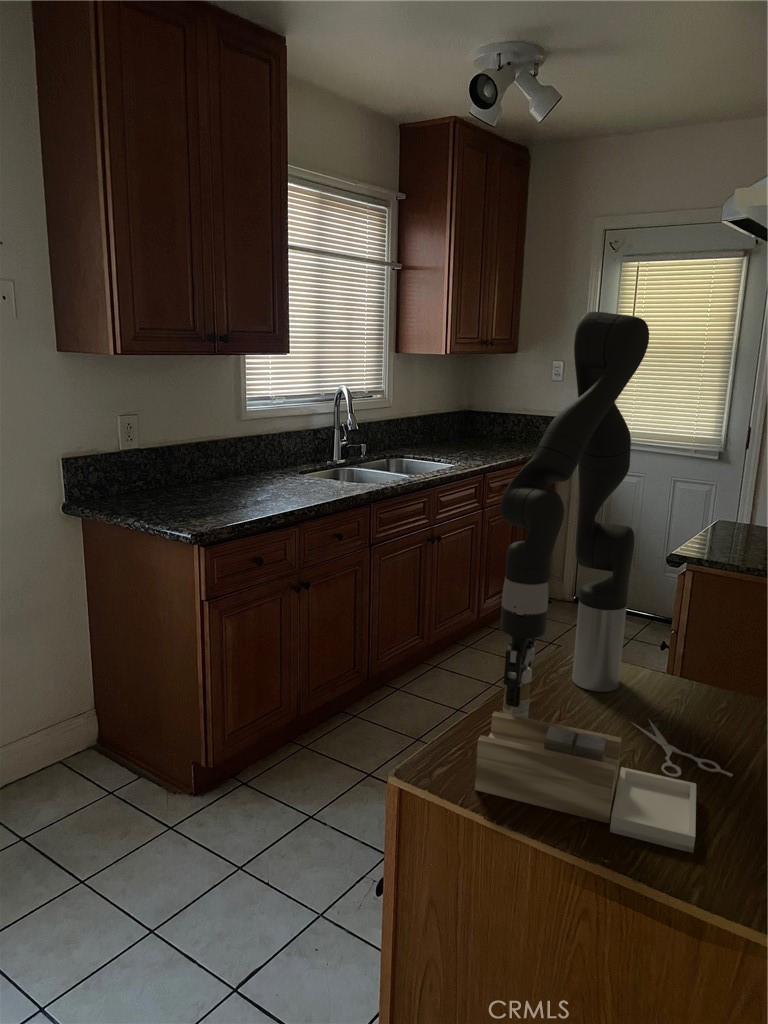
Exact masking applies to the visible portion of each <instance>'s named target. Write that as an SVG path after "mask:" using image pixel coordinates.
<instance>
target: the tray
mask: <svg viewBox="0 0 768 1024" xmlns="http://www.w3.org/2000/svg"><path fill="white" fill-rule="evenodd" d="M696 815H697V783H695V782H691V781H687V780H681V779H678V778H674V777H670V776H664V775H659V774H655V773H649V772H647V771H646V772H645V771H641V770H637V769H632V768H627V767H623V766H621V767H620V772H619V776H618V780H617V787H616V792H615V797H614V802H613V807H612V812H611V817H610V825H609V833H613V834H617V835H620V836H624V837H629V838H632V839H636V840H641V841H644V842H648V843H652V844H656V845H660V846H664V847H668V848H671V849H676V850H679V851H683V852H687V853H690V854H691V853H692V854H694V849H695V842H696V824H697V821H696V819H697V816H696Z"/></svg>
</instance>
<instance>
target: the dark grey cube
mask: <svg viewBox="0 0 768 1024" xmlns="http://www.w3.org/2000/svg"><path fill="white" fill-rule="evenodd" d="M605 748H606V738H604V737H599V736H594V735H590V734H585V733H580V732H579V735H578V738H577V741H576V744H575V755H574V756H577V757H582V758H586V759H591V760H595V761H600V762H604V758H605Z"/></svg>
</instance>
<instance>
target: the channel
mask: <svg viewBox="0 0 768 1024" xmlns="http://www.w3.org/2000/svg"><path fill="white" fill-rule="evenodd" d="M550 726H552V727H556V728H561V729H566V730H571V731H575V732H576V739H575V744H576V741H577V738H578V735H579V732H580V733H585V734H590V735H594V736H599V737H604V738H606V748H605V758H604V762H600V761H595V760H591V759H586V758H582V757H577V756H572V755H568V754H563V753H559V752H554V751H550V750H545V749H544V744H545V737H546V734H547V732H548V729H549V727H550ZM621 747H622V737H619V736H615V735H611V734H605V733H600V732H595V731H591V730H587V729H581V728H576V727H572V726H567V725H562V724H557V723H553V722H552V723H551V722H548V721H543V720H538V719H534V718H529V717H528V718H524V717H519V716H515V715H510V714H505V713H503V712H500V711H493V713H492V714H491V727H490V733H489V735H488V736H487V735H482V734H480V735H479V737H478V739H477V747H476V748H477V749H476V762H475V763H476V764H475V767H476V768H475V780H474V781H475V783H474V790H475V791H478V792H482V793H487V794H489V795H494V796H498V797H502V798H506V799H510V800H514V801H517V802H522V803H525V804H530V805H533V806H538V807H542V808H546V809H548V810H549V809H550V810H554V811H558V812H563V813H566V814H570V815H573V816H578V817H581V818H586V819H591V820H594V821H597V822H598V821H599V822H601V823H607V824H610V823H611V816H612V811H613V806H614V801H615V796H616V791H617V786H618V778H619V776H618V775H619V768H620V767H619V766H620V765H619V764H620V756H621ZM574 755H575V750H574Z"/></svg>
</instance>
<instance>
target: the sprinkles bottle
mask: <svg viewBox="0 0 768 1024" xmlns="http://www.w3.org/2000/svg"><path fill="white" fill-rule="evenodd" d="M521 667H522V665H521ZM532 675H533V669H532V667H531V668H530V667H528V669H527V673H525V674H524V675H523V679H522V685H521V696H520V705H519V706H518V707H513V706H508V705H507V704H506V694H507V685H504V695H503V705H502V713H505V714H510V715H515V716H519V717H524V718H529V709H530V691H531V690H530V689H531V683H532V677H533V676H532ZM511 678H516V673H513V672H512V673H511Z"/></svg>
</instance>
